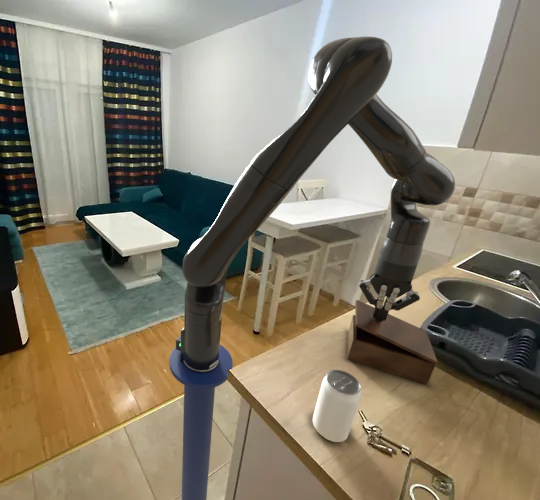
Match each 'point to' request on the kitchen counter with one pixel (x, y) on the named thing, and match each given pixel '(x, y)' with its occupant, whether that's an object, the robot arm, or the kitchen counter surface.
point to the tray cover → (395, 332)
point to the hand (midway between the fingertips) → (378, 319)
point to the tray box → (386, 355)
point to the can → (336, 405)
